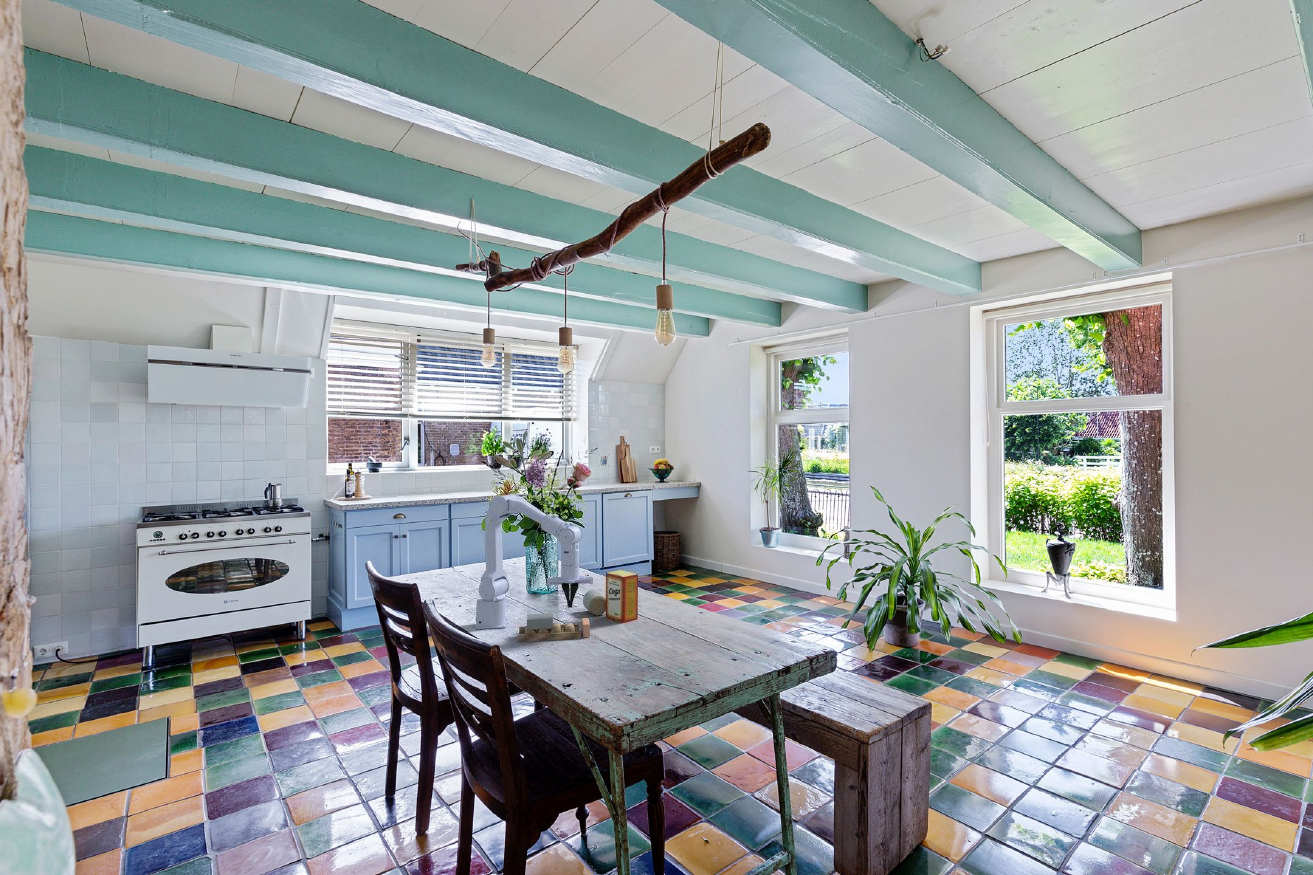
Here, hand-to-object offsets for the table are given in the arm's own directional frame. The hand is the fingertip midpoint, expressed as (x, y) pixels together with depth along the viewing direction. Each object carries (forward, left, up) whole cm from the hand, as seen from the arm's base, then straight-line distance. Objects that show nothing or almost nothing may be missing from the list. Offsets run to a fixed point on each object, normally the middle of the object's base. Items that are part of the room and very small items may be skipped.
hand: (569, 606), depth 201 cm
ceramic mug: (+12, +23, -9) cm, 28 cm away
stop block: (+5, 0, -9) cm, 10 cm away
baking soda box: (+19, +15, -9) cm, 26 cm away
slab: (-9, 0, -6) cm, 11 cm away
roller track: (-6, 0, -9) cm, 11 cm away
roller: (0, 0, -9) cm, 9 cm away
